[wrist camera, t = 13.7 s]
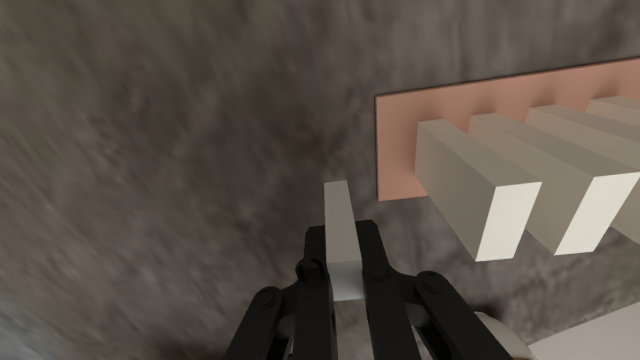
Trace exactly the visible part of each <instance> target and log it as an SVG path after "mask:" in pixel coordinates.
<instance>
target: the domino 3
mask: <svg viewBox="0 0 640 360" xmlns="http://www.w3.org/2000/svg"><path fill="white" fill-rule="evenodd" d="M524 124H527V125H529V126H532V127H534V128H537V129H539V130H542V131H544V132H547V133H549V134H551V135H554V136H556V137H559V138H561V139H564V140H566V141H569V142H571V143H574V144H576V145H579V146H581V147H584V148H586V149H589V150H591V151H594V152H596V153H599V154H601V155H603V156H606V157H608V158H611V159H613V160H616V161H618V162H621V163H623V164H626V165H628V166H631V167H633V168H636V169H638V170H640V126H636V125H632V124H628V123H625V122H621V121H617V120H613V119H610V118H606V117H602V116H598V115H595V114H591V113H587V112H583V111H580V110H576V109H572V108H569V107H565V106H561V105H557V104H553V105H546V106H538V107H531V108H529V110H528V113H527V117H526V120H525V123H524ZM610 226H611V227H613V228H614V229H616V230H618V231H619V232H621V233H622V234H624V235H625V236H627V237H628V238H630V239H632V240H633V241H635V242H636V243H638V244H639V245H640V177H639V179H638V181H637V182H636V184H635V185H634V187H633V189H632V190H631V192H630V193H629V195H628V197H627V198H626V200H625V201H624V203H623V205H622V206H621V208H620V209H619V211H618V213H617V214H616V216H615V217H614V219H613V221H612V222H611V224H610Z"/></svg>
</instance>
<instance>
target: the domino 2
mask: <svg viewBox="0 0 640 360" xmlns="http://www.w3.org/2000/svg"><path fill="white" fill-rule="evenodd" d="M467 134H468V135H470V136H471V137H473V138H474V139H476V140H478V141H479V142H481V143H482V144H484V145H486V146H487V147H489V148H490V149H492V150H493V151H495V152H497V153H498V154H500V155H501V156H503V157H505V158H506V159H508V160H509V161H511V162H512V163H514V164H516V165H517V166H519V167H520V168H522V169H524V170H525V171H527V172H528V173H530V174H531V175H533V176H535V177H536V178H538V179H539V180H541V181H543V182H542V184H541V187H540V189H539V192H538V195H537V197H536V200H535V202H534V205H533V207H532V210H531V212H530V215H529V218H528V220H527V223H526V225H525V229H526V230H527V231H528V232H529V233H531V234H532V235H533V236H534V237H535V238H536V239H537V240H538V241H539V242H540V243H541V244H543V245H544V246H545V247H546V248H547V249H548V250H549V251H550V252H551V253H552V254H554V255H561V254H571V253H582V252H593V251H594V249H595V248H596V246H597V244H598V243H599V241H600V240H601V238H602V236H603V235H604V233H605V232H606V230H607V228H608V227H609V225H610V224H611V222H612V221H613V219H614V217H615V216H616V214H617V213H618V211H619V209H620V208H621V206H622V205H623V203H624V201H625V200H626V198H627V197H628V195H629V193H630V192H631V190H632V189H633V187H634V185H635V184H636V182H637V181H638V179H639V177H640V170H638V169H636V168H633V167H631V166H628V165H626V164H623V163H621V162H618V161H616V160H613V159H611V158H608V157H606V156H603V155H601V154H599V153H596V152H594V151H591V150H589V149H586V148H584V147H581V146H579V145H576V144H574V143H571V142H569V141H566V140H564V139H561V138H559V137H556V136H554V135H551V134H549V133H547V132H544V131H542V130H539V129H537V128H534V127H532V126H529V125H527V124H524V123H522V122H519V121H517V120H514V119H512V118H509V117H507V116H504V115H502V114H499V113H497V112H495V113H487V114H480V115H473V116H471V117H470V122H469V128H468V133H467Z"/></svg>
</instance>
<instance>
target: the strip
mask: <svg viewBox="0 0 640 360" xmlns="http://www.w3.org/2000/svg"><path fill="white" fill-rule="evenodd" d="M612 96H622V97H627V98H633V99H638V100H640V57H638V58H632V59H625V60H618V61H611V62H604V63H597V64H591V65H584V66H577V67H570V68H563V69H557V70H550V71H543V72H536V73H529V74H523V75H516V76H509V77H502V78H495V79H488V80H482V81H475V82H468V83H461V84H454V85H448V86H441V87H434V88H427V89H420V90H414V91H407V92H400V93H393V94H386V95H379V96H375V112H376V153H377V195H378V200H379V201H386V200H395V199H403V198H412V197H421V196H429V195H428V193H427V192H426V191H425V189H424V188H423V186H422V185H421V184H420V182H419V181H418V179H417V178H416V176H415V175H414V171H415V157H416V142H417V127H418V122H422V121H429V120H436V119H444V120H446V121H448V122H449V123H451V124H452V125H454V126H455V127H457V128H459V129H460V130H462V131H463V132H465V133H468V128H469V122H470V117H471V116H473V115H480V114H487V113H495V112H497V113H499V114H502V115H504V116H507V117H509V118H512V119H514V120H517V121H519V122H522V123H525V120H526V117H527V113H528V110H529V108H531V107H538V106H546V105H553V104H557V105H561V106H565V107H569V108H572V109H576V110H580V111H583V112H585V110H586V107H587V105H588V103H589V100H590V99H597V98H604V97H612Z"/></svg>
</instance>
